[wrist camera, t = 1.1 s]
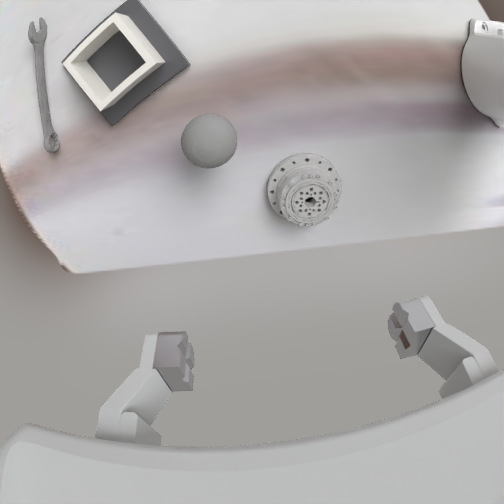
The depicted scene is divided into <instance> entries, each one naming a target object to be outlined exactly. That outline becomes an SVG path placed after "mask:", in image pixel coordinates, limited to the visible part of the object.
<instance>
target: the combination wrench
mask: <svg viewBox="0 0 504 504" xmlns="http://www.w3.org/2000/svg"><path fill="white" fill-rule="evenodd" d="M39 24H40V31H39V32H38V33H37V32H36V29H35V25H34V22H33V21H32V22H31V23H30V26H29V31H28V37H29V40H30V42H31V43H32V44H33V47H34V50H35V68H36V81H37V91H38V99H39V107H40V114H41V120H42V126H43V133H44V147H45V149H46V151H47V152H49V153H52V152H55V151H57V150H58V148H59V144H60V142H59V140H58V135H57V134H56V133H55V132H54V130H53V128H52V125H51V120H50V114H49V108H48V101H47V93H46V84H45V74H44V61H43V45H44V40H45V38H46V36H47V25H46V23H45V21H44V19H43V18H42V17H41V18H40V19H39ZM50 136H52V138H53V139H54V141H55V142H54V149H52V148H51V147H50V144H49V138H50Z"/></svg>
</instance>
